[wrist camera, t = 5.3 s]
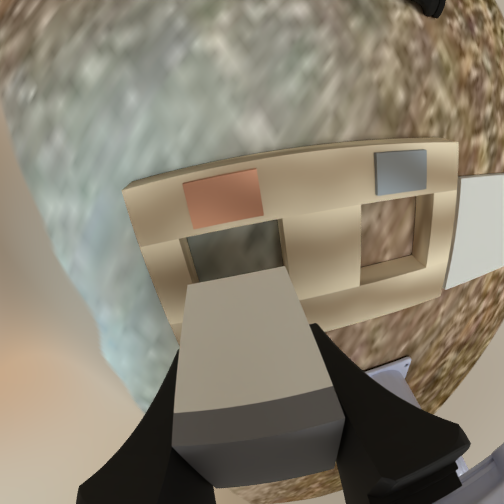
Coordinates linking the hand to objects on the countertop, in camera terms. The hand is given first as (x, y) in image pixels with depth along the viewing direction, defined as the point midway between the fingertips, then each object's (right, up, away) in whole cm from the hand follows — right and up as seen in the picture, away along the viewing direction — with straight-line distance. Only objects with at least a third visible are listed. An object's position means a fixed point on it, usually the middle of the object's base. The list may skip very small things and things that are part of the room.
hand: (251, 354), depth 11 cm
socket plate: (+4, +5, +7) cm, 10 cm away
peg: (0, +1, +2) cm, 2 cm away
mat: (+21, +6, +9) cm, 24 cm away
